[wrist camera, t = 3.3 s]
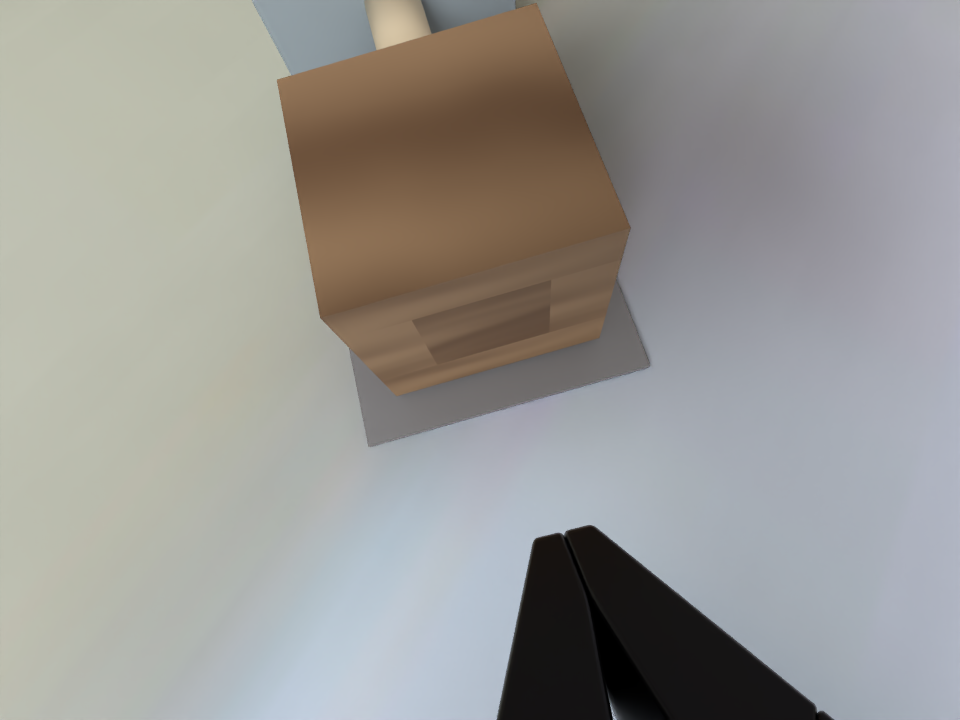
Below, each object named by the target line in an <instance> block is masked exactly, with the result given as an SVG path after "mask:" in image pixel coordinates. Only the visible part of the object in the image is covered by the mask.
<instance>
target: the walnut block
mask: <svg viewBox="0 0 960 720" xmlns="http://www.w3.org/2000/svg"><path fill="white" fill-rule="evenodd" d="M277 83H278V89H279V94H280V100H281V105H282V111H283V116H284V122H285V127H286V133H287V138H288V144H289V149H290V155H291V160H292V166H293V171H294V177H295V182H296V188H297V193H298V199H299V204H300V209H301V215H302V220H303V226H304V231H305V237H306V242H307V248H308V253H309V259H310V264H311V270H312V275H313V281H314V286H315V292H316V297H317V303H318V308H319V314H320V318H321V319H322V320H323V321H324V322H325V323H326V324H327V325H328V326H329V327H330V328H331V329H332V331H333V332H334V333H335V334H336V335H337V336H338V337H339V338H340V339H341V340H342V341H343V342H344V343H345V344H346V345H347V346H348V347H349V348H350V349H351V350H352V351H353V352H354V353H355V354H356V355H357V356H358V357H359V358H360V359H361V360H362V361H363V362H364V363H365V364H366V365H367V366H368V368H369V369H370V370H371V371H372V372H373V373H374V374H375V375H376V376H377V377H378V378H379V379H380V380H381V381H382V382H383V383H384V384H385V385H386V386H387V387H388V388H389V389H390V390H391V391H392V392H393V393H394V394H395V395H396V396H399V395H403V394H406V393H410V392H413V391H417V390H420V389H424V388H427V387H431V386H434V385H437V384H441V383H444V382H448V381H451V380H455V379H458V378H462V377H465V376H469V375H472V374H476V373H479V372H483V371H486V370H490V369H493V368H497V367H500V366H504V365H507V364H511V363H514V362H517V361H521V360H524V359H528V358H531V357H535V356H538V355H542V354H545V353H549V352H552V351H556V350H559V349H563V348H566V347H570V346H573V345H577V344H580V343H584V342H587V341H591V340H594V339H597V338H599V337H600V334H601V330H602V327H603V323H604V320H605V316H606V313H607V309H608V306H609V302H610V299H611V295H612V292H613V288H614V285H615V281H616V278H617V274H618V271H619V267H620V263H621V260H622V256H623V253H624V249H625V246H626V242H627V239H628V235H629V232H630V225H629V223H628V221H627V218H626V216H625V214H624V211H623V209H622V206H621V204H620V202H619V199H618V197H617V194H616V192H615V190H614V187H613V185H612V182H611V180H610V178H609V175H608V173H607V171H606V168H605V166H604V163H603V161H602V159H601V156H600V154H599V151H598V149H597V147H596V144H595V142H594V139H593V137H592V135H591V132H590V130H589V128H588V125H587V123H586V120H585V118H584V116H583V113H582V111H581V108H580V106H579V104H578V101H577V99H576V96H575V94H574V92H573V89H572V87H571V84H570V82H569V80H568V77H567V75H566V73H565V70H564V68H563V65H562V63H561V61H560V58H559V56H558V53H557V51H556V49H555V46H554V44H553V41H552V39H551V37H550V34H549V32H548V30H547V27H546V25H545V22H544V20H543V18H542V15H541V13H540V10H539V8H538V6H537V3H535V4H531V5H528V6H525V7H521V8H518V9H514V10H511V11H508V12H504V13H501V14H498V15H494V16H491V17H487V18H484V19H481V20H477V21H474V22H471V23H467V24H464V25H460V26H457V27H454V28H450V29H447V30H444V31H440V32H437V33H433V34H430V35H427V36H423V37H420V38H417V39H413V40H410V41H406V42H403V43H400V44H396V45H393V46H389V47H386V48H383V49H379V50H376V51H373V52H369V53H366V54H362V55H359V56H356V57H352V58H349V59H346V60H342V61H339V62H335V63H332V64H329V65H325V66H322V67H319V68H315V69H312V70H308V71H305V72H302V73H298V74H295V75H292V76H288V77H285V78H281V79H278V80H277Z"/></svg>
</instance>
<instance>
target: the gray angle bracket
mask: <svg viewBox="0 0 960 720" xmlns="http://www.w3.org/2000/svg"><path fill="white" fill-rule="evenodd" d="M252 2H253V4H254V6H255V8H256V10H257V11H258V13H259V15H260V17H261V19H262V21H263V23H264V25H265V26H266V28H267V30H268V32H269V34H270V36H271V38H272V40H273V42H274V43H275V45H276V47H277V49H278V51H279V53H280V55H281V57H282V58H283V60H284V62H285V64H286V66H287V68H288V70H289V72H290V74H291V75H295V74H298V73H302V72H305V71H308V70H312V69H315V68H319V67H322V66H325V65H329V64H332V63H335V62H339V61H342V60H346V59H349V58H352V57H356V56H359V55H362V54H366V53H369V52H373V51H376V50H379V49H383V48H386V47H389V46H393V45H396V44H400V43H403V42H406V41H410V40H413V39H417V38H420V37H423V36H427V35H430V34H433V33H437V32H440V31H444V30H447V29H450V28H454V27H457V26H460V25H464V24H467V23H471V22H474V21H477V20H481V19H484V18H487V17H491V16H494V15H498V14H501V13H504V12H508V11H511V10H514V9H516V6H515V0H252ZM349 350H350V355H351V361H352V366H353V371H354V376H355V381H356V386H357V391H358V396H359V401H360V406H361V411H362V416H363V421H364V426H365V431H366V436H367V441H368V446H369V447H372V446H376V445H379V444H383V443H386V442H390V441H393V440H397V439H400V438H404V437H407V436H411V435H414V434H418V433H421V432H425V431H428V430H432V429H435V428H439V427H442V426H446V425H449V424H453V423H456V422H460V421H463V420H467V419H470V418H474V417H477V416H481V415H484V414H488V413H491V412H495V411H498V410H502V409H505V408H509V407H512V406H516V405H519V404H523V403H526V402H530V401H533V400H537V399H540V398H544V397H547V396H551V395H554V394H558V393H561V392H564V391H568V390H571V389H575V388H578V387H582V386H585V385H589V384H592V383H596V382H599V381H603V380H606V379H610V378H613V377H617V376H620V375H624V374H627V373H631V372H634V371H638V370H641V369H645V368H648V367H650V363H649V361H648V358H647V356H646V353H645V351H644V348H643V346H642V343H641V341H640V338H639V335H638V333H637V330H636V328H635V325H634V323H633V320H632V318H631V315H630V313H629V310H628V308H627V305H626V302H625V300H624V297H623V295H622V292H621V290H620V287H619V285H618V282H617V280H616V281H615V285H614V288H613V292H612V295H611V299H610V302H609V306H608V309H607V313H606V316H605V320H604V323H603V327H602V330H601V334H600V337H599V338H597V339H594V340H591V341H587V342H584V343H580V344H577V345H573V346H570V347H566V348H563V349H559V350H556V351H552V352H549V353H545V354H542V355H538V356H535V357H531V358H528V359H524V360H521V361H517V362H514V363H511V364H507V365H504V366H500V367H497V368H493V369H490V370H486V371H483V372H479V373H476V374H472V375H469V376H465V377H462V378H458V379H455V380H451V381H448V382H444V383H441V384H437V385H434V386H431V387H427V388H424V389H420V390H417V391H413V392H410V393H406V394H403V395H399V396H396V395H395V394H394V393H393V392H392V391H391V390H390V389H389V388H388V387H387V386H386V385H385V384H384V383H383V382H382V381H381V380H380V379H379V378H378V377H377V376H376V375H375V374H374V373H373V372H372V371H371V370H370V369H369V368H368V366H367V365H366V364H365V363H364V362H363V361H362V360H361V359H360V358H359V357H358V356H357V355H356V354H355V353H354V352H353V351H352V350H351V349H350V348H349Z"/></svg>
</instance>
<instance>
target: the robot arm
mask: <svg viewBox="0 0 960 720" xmlns="http://www.w3.org/2000/svg"><path fill="white" fill-rule="evenodd" d="M609 701H610V702H609ZM610 704H611V706H612V709H613V711H614V714H615V716H616V719H617V720H834V719H833V718H831V717H830V716H829V715H828V714H827V713H825V712H824V711H819V712H818V713H817V708H816V706H815V704H814V703H812V702H811V701H810V700H809V699H808V698H806V697H805V696H804V695H803V694H801V693H800V692H799V691H798V690H796V689H795V688H794V687H793V686H791V685H790V684H789V683H788V682H787V681H785V680H784V679H783V678H782V677H780V676H779V675H778V674H777V673H775V672H774V671H773V670H772V669H770V668H769V667H768V666H767V665H765V664H764V663H763V662H762V661H761V660H759V659H758V658H757V657H756V656H754V655H753V654H752V653H751V652H749V651H748V650H747V649H746V648H744V647H743V646H742V645H741V644H740V643H738V642H737V641H736V640H735V639H733V638H732V637H731V636H730V635H728V634H727V633H726V632H725V631H723V630H722V629H721V628H720V627H719V626H717V625H716V624H715V623H714V622H712V621H711V620H710V619H709V618H707V617H706V616H705V615H704V614H702V613H701V612H700V611H699V610H697V609H696V608H695V607H694V606H693V605H691V604H690V603H689V602H688V601H686V600H685V599H684V598H683V597H681V596H680V595H679V594H678V593H676V592H675V591H674V590H673V589H672V588H670V587H669V586H668V585H667V584H665V583H664V582H663V581H662V580H660V579H659V578H658V577H657V576H655V575H654V574H653V573H652V572H651V571H649V570H648V569H647V568H646V567H644V566H643V565H642V564H641V563H639V562H638V561H637V560H636V559H634V558H633V557H632V556H631V555H629V554H628V553H627V552H626V551H625V550H623V549H622V548H621V547H620V546H618V545H617V544H616V543H615V542H613V541H612V540H611V539H610V538H608V537H607V536H606V535H605V534H604V533H602V532H601V531H600V530H599V529H597V528H596V527H595V526H592V525H587V526H583V527H579V528H575V529H571V530H568V531H566V532H565V535H564V536H563V534H561V533H555V534H551V535H547V536H543V537H539V538H536V539H535V540H534V542H533V544H532V549H531V554H530V559H529V564H528V569H527V573H526V578H525V583H524V588H523V593H522V598H521V603H520V608H519V613H518V617H517V622H516V627H515V632H514V637H513V642H512V647H511V652H510V657H509V661H508V666H507V671H506V676H505V681H504V686H503V691H502V696H501V701H500V706H499V710H498V715H497V720H613V717H612V712H611V707H610Z"/></svg>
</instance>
